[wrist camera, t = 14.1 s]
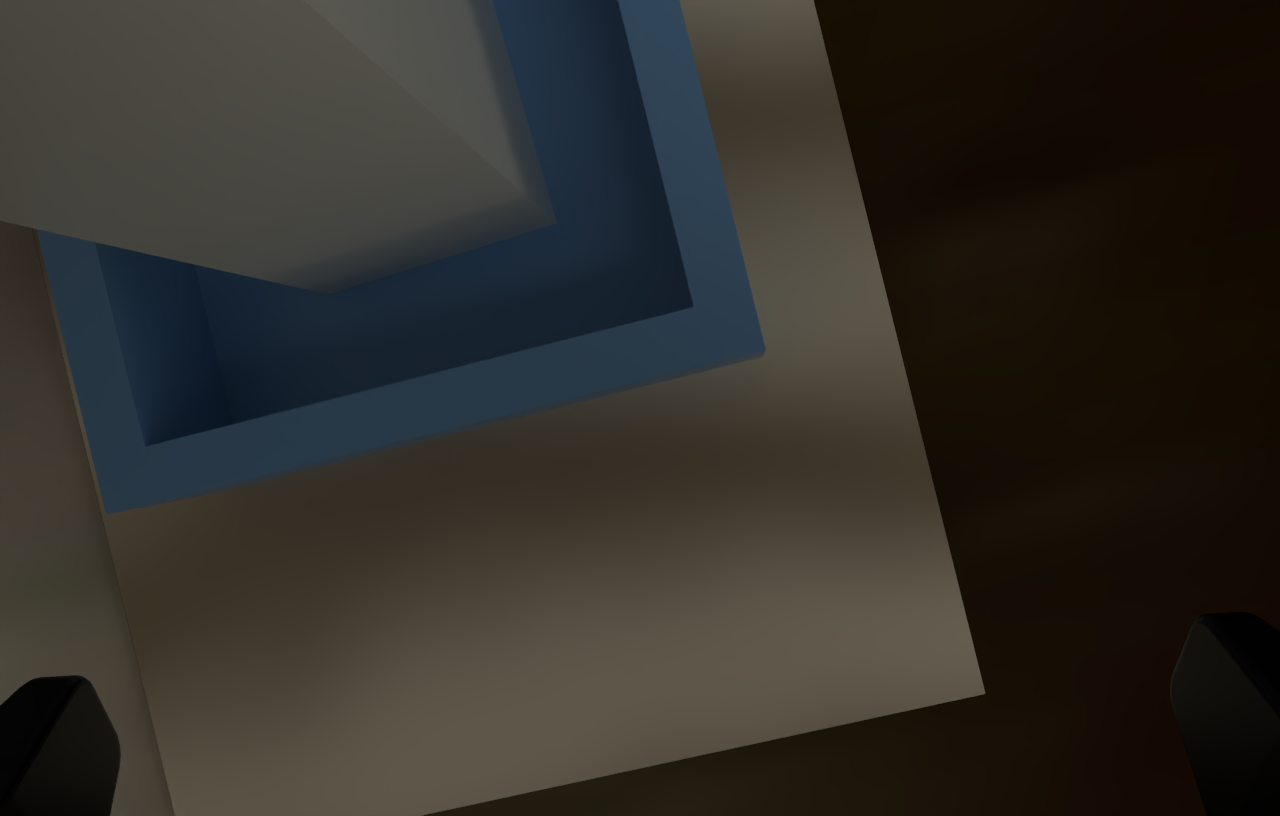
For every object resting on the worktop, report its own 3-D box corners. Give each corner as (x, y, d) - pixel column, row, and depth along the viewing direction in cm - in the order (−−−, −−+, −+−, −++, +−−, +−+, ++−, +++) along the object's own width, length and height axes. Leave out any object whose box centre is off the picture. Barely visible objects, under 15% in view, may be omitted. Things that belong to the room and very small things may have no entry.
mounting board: (973, 678, 19) (985, 693, 18) (214, 842, 21) (186, 866, 20) (666, -560, 19) (661, -612, 18) (-70, -318, 21) (-111, -353, 20)
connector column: (557, 222, 18) (102, -179, 5) (328, 294, 19) (-618, 81, 6) (488, -14, 18) (-130, -982, 5) (261, 62, 19) (-831, -672, 6)
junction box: (762, 357, 19) (766, 349, 15) (219, 491, 20) (106, 514, 16) (623, -207, 19) (594, -342, 15) (88, -46, 20) (-54, -140, 16)
